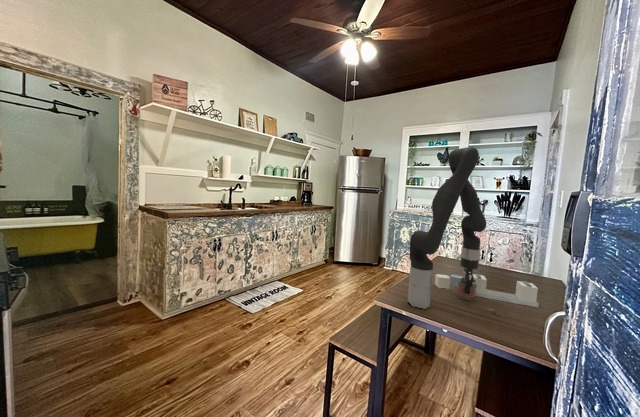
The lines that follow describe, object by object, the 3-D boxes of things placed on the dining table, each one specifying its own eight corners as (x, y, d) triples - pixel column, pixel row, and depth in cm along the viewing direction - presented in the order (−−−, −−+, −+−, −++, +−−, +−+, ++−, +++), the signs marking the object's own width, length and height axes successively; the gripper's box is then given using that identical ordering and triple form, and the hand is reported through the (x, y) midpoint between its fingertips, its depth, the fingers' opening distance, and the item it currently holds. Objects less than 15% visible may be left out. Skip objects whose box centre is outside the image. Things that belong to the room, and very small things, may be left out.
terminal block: (464, 288, 136) (465, 279, 135) (449, 285, 139) (450, 276, 139) (464, 286, 139) (465, 277, 138) (450, 282, 143) (451, 274, 142)
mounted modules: (535, 303, 116) (538, 287, 116) (471, 291, 126) (472, 276, 126) (530, 297, 123) (532, 282, 122) (469, 286, 133) (470, 272, 132)
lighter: (456, 297, 123) (458, 277, 122) (456, 294, 126) (458, 275, 125) (475, 301, 119) (477, 281, 118) (475, 298, 122) (477, 278, 121)
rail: (538, 307, 116) (538, 303, 116) (468, 294, 127) (469, 290, 127) (532, 301, 123) (532, 297, 122) (466, 289, 133) (467, 286, 133)
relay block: (449, 289, 133) (450, 278, 132) (437, 288, 134) (438, 277, 133) (446, 285, 138) (447, 275, 137) (434, 284, 139) (435, 274, 138)
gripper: (459, 252, 129) (456, 285, 130) (462, 259, 116) (459, 295, 117) (476, 255, 126) (472, 288, 127) (481, 262, 113) (477, 299, 114)
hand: (466, 291), depth 122 cm, fingers closed on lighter, 3 cm apart
